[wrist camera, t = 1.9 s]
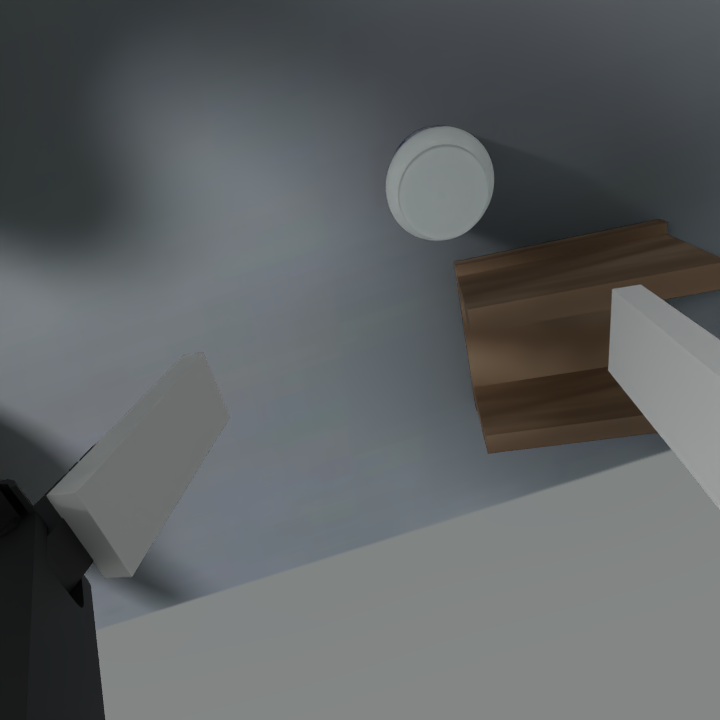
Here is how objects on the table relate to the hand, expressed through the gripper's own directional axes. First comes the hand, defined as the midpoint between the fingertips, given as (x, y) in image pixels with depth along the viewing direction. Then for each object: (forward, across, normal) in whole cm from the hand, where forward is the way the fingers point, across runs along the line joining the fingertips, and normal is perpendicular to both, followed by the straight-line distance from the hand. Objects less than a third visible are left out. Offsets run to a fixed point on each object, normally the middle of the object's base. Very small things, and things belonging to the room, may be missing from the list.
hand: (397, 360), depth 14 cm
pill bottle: (+18, +2, +4) cm, 19 cm away
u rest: (+18, +10, -8) cm, 22 cm away
